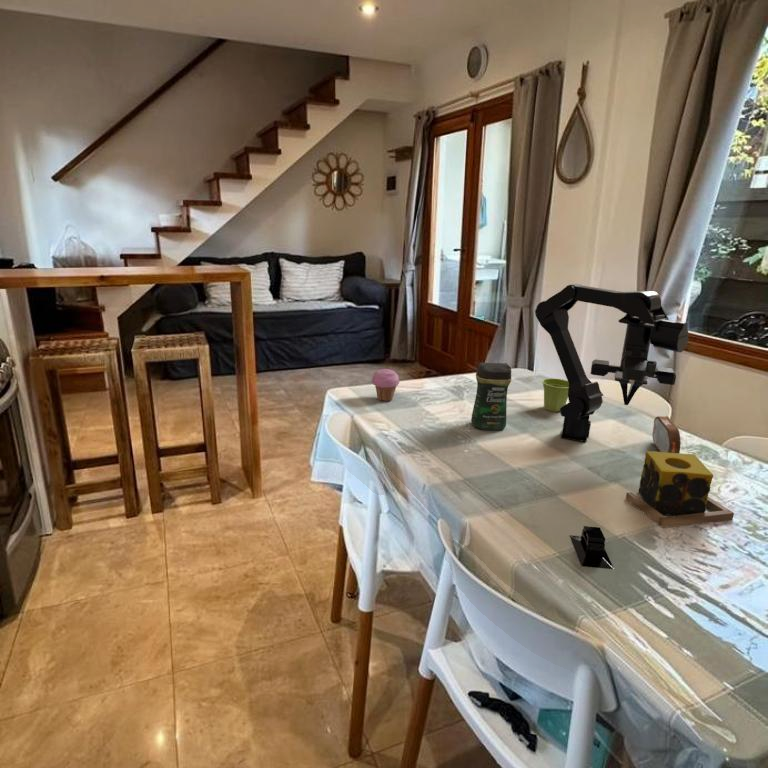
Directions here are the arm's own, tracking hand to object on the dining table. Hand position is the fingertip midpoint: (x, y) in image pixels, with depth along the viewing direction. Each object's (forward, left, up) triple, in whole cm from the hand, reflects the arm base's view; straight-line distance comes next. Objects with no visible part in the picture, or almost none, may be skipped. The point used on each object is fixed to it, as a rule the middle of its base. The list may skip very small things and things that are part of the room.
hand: (626, 404), depth 133 cm
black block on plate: (-5, -49, -14) cm, 51 cm away
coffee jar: (-34, +3, -13) cm, 37 cm away
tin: (+11, +6, -13) cm, 18 cm away
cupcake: (-69, +11, -13) cm, 71 cm away
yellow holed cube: (+10, -24, -13) cm, 29 cm away
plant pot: (-18, +27, -13) cm, 35 cm away
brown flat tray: (+11, -26, -13) cm, 31 cm away
